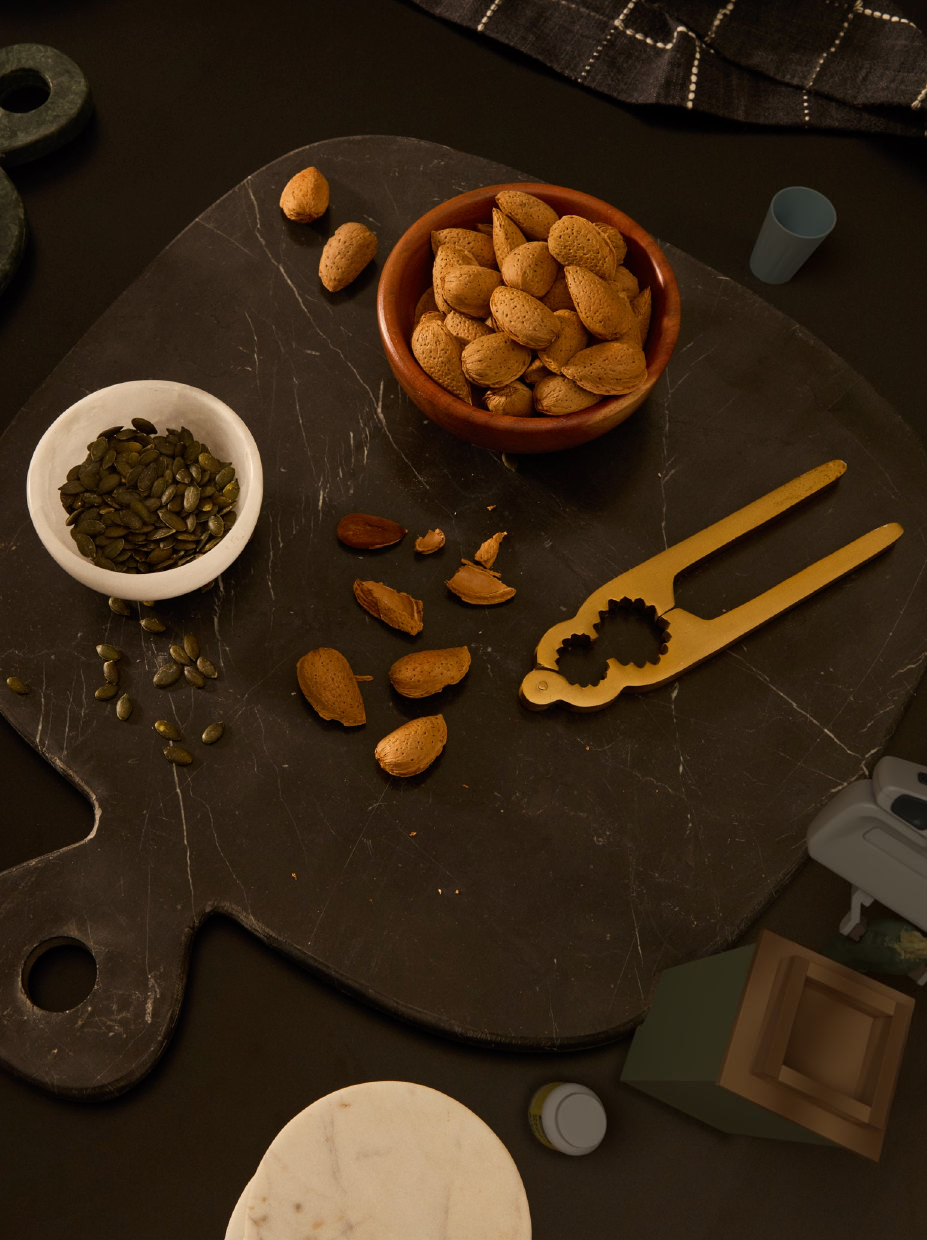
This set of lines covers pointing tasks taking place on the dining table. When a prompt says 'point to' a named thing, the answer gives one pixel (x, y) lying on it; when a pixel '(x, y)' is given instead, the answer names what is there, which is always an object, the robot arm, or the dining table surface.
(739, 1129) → the stand
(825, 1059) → the socket pad
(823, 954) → the vegetable
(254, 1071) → the dining table surface
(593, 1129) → the supplement bottle
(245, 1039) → the dining table surface
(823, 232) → the cup
